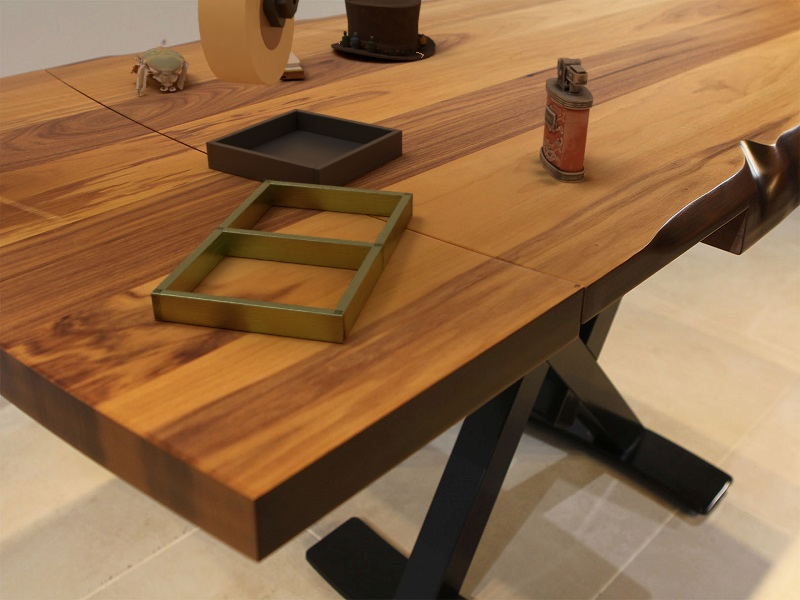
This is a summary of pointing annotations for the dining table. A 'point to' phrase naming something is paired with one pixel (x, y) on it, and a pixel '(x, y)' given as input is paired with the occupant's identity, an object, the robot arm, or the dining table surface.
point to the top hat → (385, 30)
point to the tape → (243, 41)
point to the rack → (240, 241)
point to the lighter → (566, 122)
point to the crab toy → (160, 68)
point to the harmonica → (293, 68)
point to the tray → (305, 149)
